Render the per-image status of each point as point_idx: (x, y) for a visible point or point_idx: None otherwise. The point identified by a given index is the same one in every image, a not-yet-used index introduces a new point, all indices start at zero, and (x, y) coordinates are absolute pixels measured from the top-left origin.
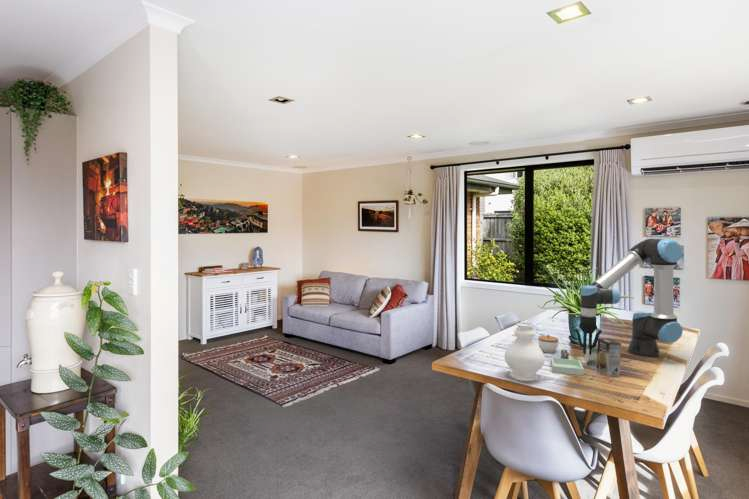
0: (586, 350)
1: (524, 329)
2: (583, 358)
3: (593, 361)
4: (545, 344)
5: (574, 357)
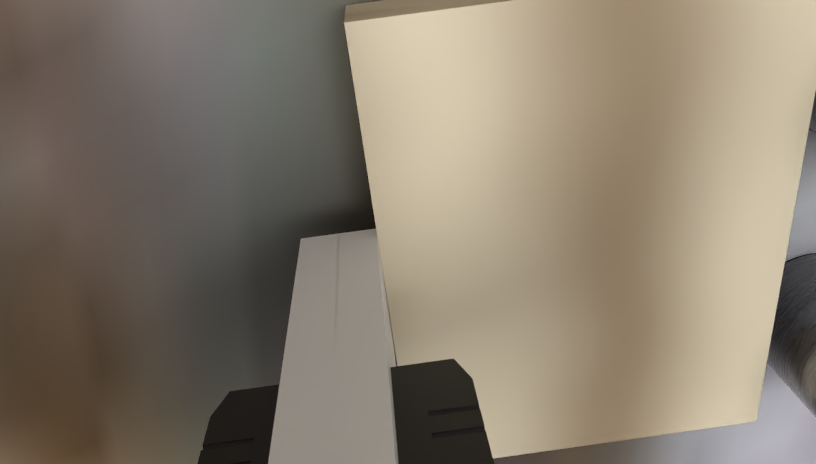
0: (380, 452)
1: None
2: None
3: None
4: None
5: (627, 362)
